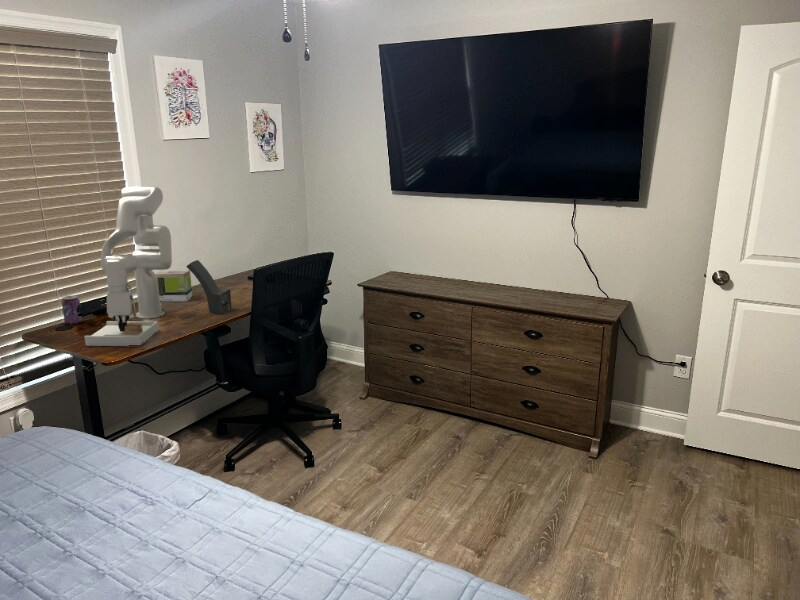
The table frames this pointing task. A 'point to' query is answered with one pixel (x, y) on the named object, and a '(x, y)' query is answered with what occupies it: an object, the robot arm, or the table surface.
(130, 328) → the walnut block
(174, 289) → the tea box
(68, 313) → the beverage can
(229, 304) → the light fixture
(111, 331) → the box
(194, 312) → the table surface
